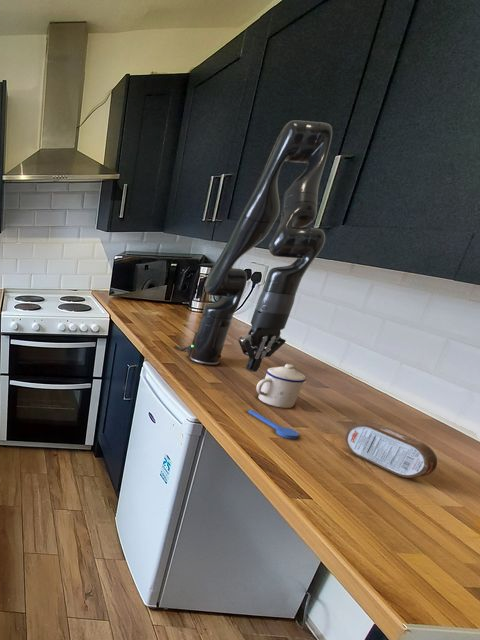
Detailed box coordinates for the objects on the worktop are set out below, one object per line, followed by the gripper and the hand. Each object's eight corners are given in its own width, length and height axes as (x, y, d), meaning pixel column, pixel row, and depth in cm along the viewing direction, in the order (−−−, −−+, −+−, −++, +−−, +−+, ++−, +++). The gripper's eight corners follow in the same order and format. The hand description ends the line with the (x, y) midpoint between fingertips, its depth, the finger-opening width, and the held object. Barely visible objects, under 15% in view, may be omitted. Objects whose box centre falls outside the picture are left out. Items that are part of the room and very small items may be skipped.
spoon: (242, 412, 110) (243, 409, 110) (256, 412, 111) (257, 408, 110) (286, 439, 97) (287, 436, 97) (301, 438, 98) (303, 435, 98)
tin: (426, 484, 83) (447, 450, 79) (416, 487, 82) (437, 452, 79) (345, 445, 96) (361, 414, 92) (336, 447, 95) (351, 416, 92)
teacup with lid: (277, 394, 122) (291, 359, 117) (302, 408, 114) (318, 370, 109) (240, 395, 121) (253, 359, 116) (263, 409, 112) (278, 371, 108)
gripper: (282, 306, 109) (261, 365, 116) (239, 305, 107) (220, 366, 114) (307, 312, 102) (283, 375, 109) (262, 312, 100) (240, 376, 107)
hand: (251, 370), depth 111 cm, fingers closed
